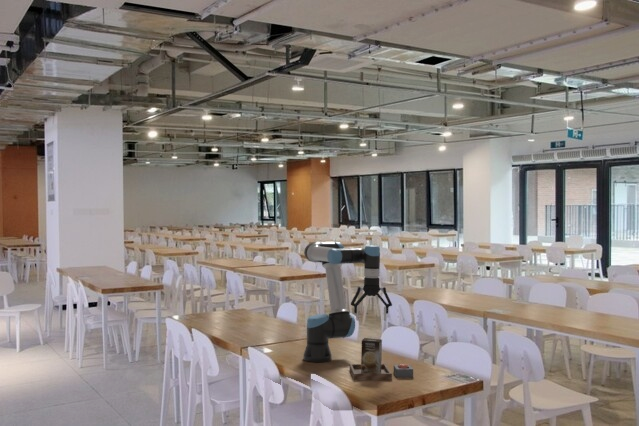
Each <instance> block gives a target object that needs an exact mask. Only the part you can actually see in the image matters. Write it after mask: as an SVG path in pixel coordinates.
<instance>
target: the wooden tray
mask: <svg viewBox="0 0 639 426" xmlns="http://www.w3.org/2000/svg"><path fill="white" fill-rule="evenodd" d="M349 372H350V375H351V376H352V380H353V381H392V380H393V373H392V371H391V370H390V369H389V367H388V366H387V364H386V363H381V373H361V363H350V364H349Z"/></svg>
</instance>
